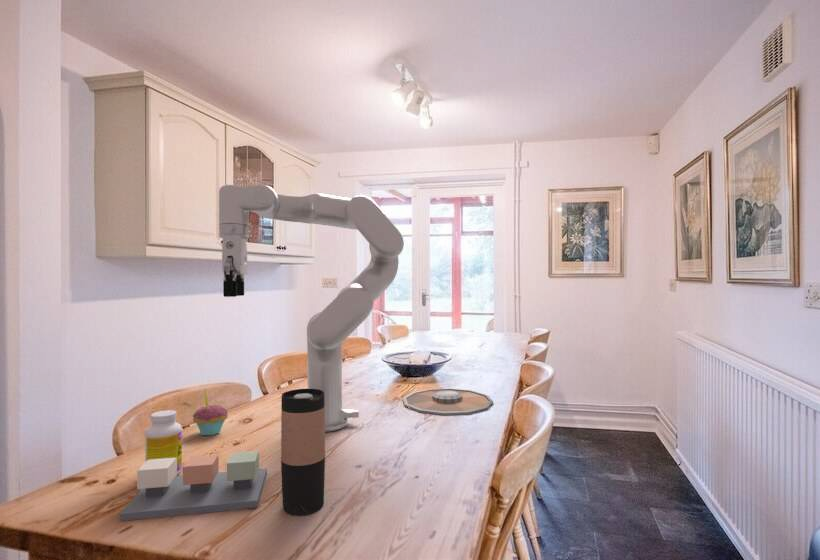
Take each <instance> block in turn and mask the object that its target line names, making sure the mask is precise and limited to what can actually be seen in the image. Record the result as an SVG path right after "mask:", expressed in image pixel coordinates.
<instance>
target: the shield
mask: <svg viewBox="0 0 820 560" xmlns="http://www.w3.org/2000/svg"><path fill="white" fill-rule="evenodd" d="M402 402H404V403H403V406H404V405H405V406H406V407H409V408H411V409H410V410H412V409H413V410H412V411H414V410H416V411H415V412H417V411H418V413H419V412H423V413H422V414H427V413H431V414H430V415H436V414H438V416H467V415H473V414H476V413H481V412H485V411H488V410H489V409H490V408H491V407H492V405H494V400H492V398H490V397H489V396H488V395H487V394H484V393H480V392H476V391H474V390H468V389H459V388H458V389H457V388H429V389H423V390H418V391H412V392H410V393H409V394H407V395H406V396H405V395H404V397H402ZM405 406H404V407H405ZM490 406H491V407H490ZM406 407H405V408H406ZM489 407H490V408H489ZM409 408H408V409H409ZM488 408H489V409H488ZM487 409H488V410H487ZM480 411H481V412H480Z"/></svg>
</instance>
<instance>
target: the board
mask: <svg viewBox="0 0 820 560" xmlns="http://www.w3.org/2000/svg"><path fill="white" fill-rule="evenodd" d="M267 476H268V468H267V467H266V468H259V469H258V472H257V475H256V478H255V479H248V480H237V481H227V471H218V473H217V475H216V477H215V479H214V480H213V482H212V483H202V484H191V485H183V474H182V475H177V476H175V478H174V479H173V480H172V482H171V483H170V484H169V486H168V487H156V488H145V489H139V491H138V493H136V495H134V497H133V498H132V499H131V500H130V501H129V503H127V505H126V506H125V507H124V508H123V509H122V511H121V512H120V513H119V521H120V522H123V521H125V520H126V521H133V520H132V519H136V520H143V519H144V518H146V519H155V518H163V517H173V516H183V515H186V516H187V515H195V514H204V513H215V512H225V511H227V512H228V511H233V510H245V509H256V508H258V506H259V504H260V500H261V496H262V493H263V489H264V486H265V483H266V481H267V480H266V479H267Z"/></svg>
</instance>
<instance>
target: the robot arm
mask: <svg viewBox="0 0 820 560" xmlns="http://www.w3.org/2000/svg"><path fill="white" fill-rule="evenodd" d="M250 212H254V213H255V214H256V215H258V216H259V217H261V218H265V219H270V220H276V221H277V220H278V221H282V222H292V223H301V224H311V225H312V224H313V225H320V226H329V227H336V228H341V229H342V228H343V229H350V230H356V231H358V233H360V235H362V236H363V238H364V239H365V240H366V241H367V242H368V244H369V245H368V247H369V252H370V261H369V263H368V265H367V266H366V267H365V268H364V269H363V270H362V271H361V272H360V273H359V274H358V275H357V276H356V277H355V278H354V279H353V280H352V281H351V282H350V283H349V284H347V285H346V286H344V287H343V288H342V289H341V290H340V291H339V292H338V294H337V295H336V297H335V298H334V299H333V300H332V301H331V302H330V303H329V304H328V305H327V306H326V307H324V309H323V310H321V311H320V312H317V313H315V314H314V315H312V316H311V318H310V319H309V320H308V322H307V325H306V326H307V327H306V340H307V341H306V343H307V345H306V346H307V347H306V350H307V352H306V353H307V354H306V355H307V357H306V358H307V365H306V366H307V367H306V368H307V370H306V371H307V373H306V374H307V385H306V386H307V388H306V389H319V390H322V391H323V392H324V404H325V405H324V406H325V433H326V432H333V431H337V430H341V429H343V428H345V427H347V425H348V421H349V420H348V419H349V418H352V419H355V418H359V415H360V413H359V410H357V409H356V410H354V409H353V408H352V409H346V408H344V405H343V351H342V349H343V347H342V345H343V342H344V341H345V340H346V339H347V338H348V337H349V336H350V335H351V334H352V333H354V331H356V330H357V328H358V327H359V326H360V325H361V324H362V323H364V322H365V320H366V319H367V318H368V317H369V316H370V315H371V313H372V311H373V308H374V302H375V301H376V300H378V298H379V297H380V296H381V295H382V294H383V293H384V292H385V291H386V290H387V289H388V287H390V286H391V284H392V283H393V281H394V280H395V278H396V276H397V274H398V270H399V255H400V254H401V253H402V251H404V245H405V244H404V243H405V241H404V237H403V236H402V233H401V232H400V230H399V229H398V228H397V227H396V225H395V224H394V223H393V222H392V221H391V219H390V218H388V216H387V214H385V213H384V211H383V210H382V209H381V208H380V207H379V205H378V204H377V202H375V201H374V199H373V198H370V197H368V196H367V195H364V194H360V195H359V194H358V195H355V196H353V197H351V198H349V197H344V196H343V197H341V196H336V195H330V194H324V193H311V194H308V195H303V196H302V195H301V196H293V195H285V194H278V193H277V192H276V191H275V190H274V188H273V187H271V186H269V185H266V184H254V185H237V184H225V185H222V186H221V187H220V188H219V191H218V237H219V238H220V239H222V246H221V250H222V251H221V254H222V255H221V268H222V270H221V271H222V272H223V290H222V291H223V297H224V298H225V297H226V298H229V297H230V298H231V297H232V298H235V297H239V296H240V297H241V296H245V278H244V277H245V276H244V275H247V274H248V273H249V268H248V266H249V265H248V262H249V261H248V247H247V240H248V239H249V238H250Z"/></svg>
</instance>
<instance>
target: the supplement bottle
mask: <svg viewBox="0 0 820 560" xmlns="http://www.w3.org/2000/svg"><path fill="white" fill-rule="evenodd" d="M177 417H178V414H177V410H173V409H171V410H170V409H168V410H159V411H155V412H153V413H151V414H150V421H151V425H150V426H148V427H147V428H146V430H145V436H144V438H145V441H144V442H145V444H144V445H145V448H144V449H145V450H144V451H145V453H144V454H145V456H144V457H145V460H144V461H145V462H146V461H147V460H149V459H163V458H176V457H177V475H176V476H179V475H180V474H181V472H182V471H183V455H182V454H183V452H182V450H183V448H182V447H183V441H182V440H183V439H182V438H183V437H182V436H183V435H182V433H183V432H182V429H183V427H182V425H181V424H180V423H179V422H176V419H177ZM145 462H144V463H145Z"/></svg>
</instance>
